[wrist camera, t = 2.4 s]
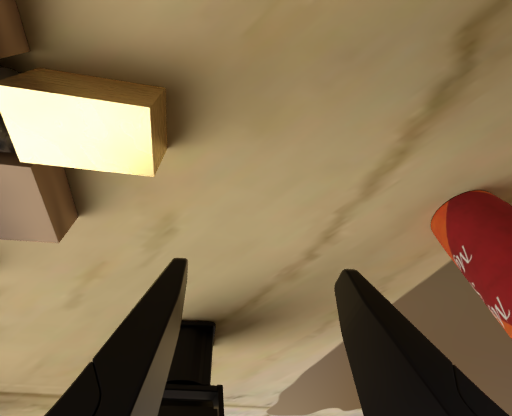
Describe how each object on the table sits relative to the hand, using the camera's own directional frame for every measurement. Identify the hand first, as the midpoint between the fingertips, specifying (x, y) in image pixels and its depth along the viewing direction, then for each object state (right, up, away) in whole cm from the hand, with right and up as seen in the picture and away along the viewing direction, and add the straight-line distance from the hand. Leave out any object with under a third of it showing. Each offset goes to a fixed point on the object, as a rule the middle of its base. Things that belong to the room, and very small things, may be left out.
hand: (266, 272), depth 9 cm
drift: (-10, +8, +8) cm, 15 cm away
